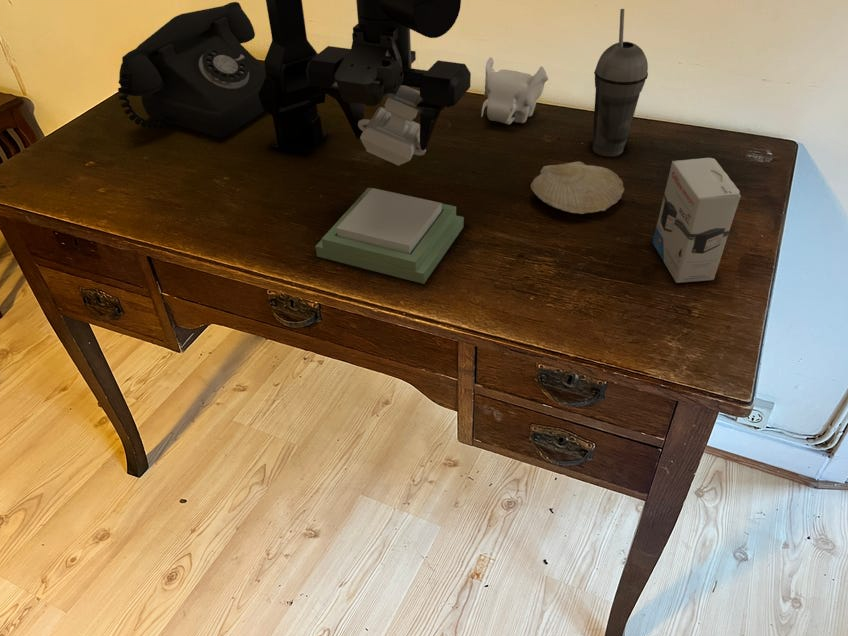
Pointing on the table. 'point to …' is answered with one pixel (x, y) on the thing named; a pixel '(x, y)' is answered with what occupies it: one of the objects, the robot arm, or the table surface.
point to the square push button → (390, 220)
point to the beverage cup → (617, 93)
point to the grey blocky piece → (394, 128)
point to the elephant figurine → (511, 93)
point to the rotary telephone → (196, 72)
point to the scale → (392, 261)
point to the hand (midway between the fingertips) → (391, 143)
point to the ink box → (695, 219)
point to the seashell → (578, 187)
